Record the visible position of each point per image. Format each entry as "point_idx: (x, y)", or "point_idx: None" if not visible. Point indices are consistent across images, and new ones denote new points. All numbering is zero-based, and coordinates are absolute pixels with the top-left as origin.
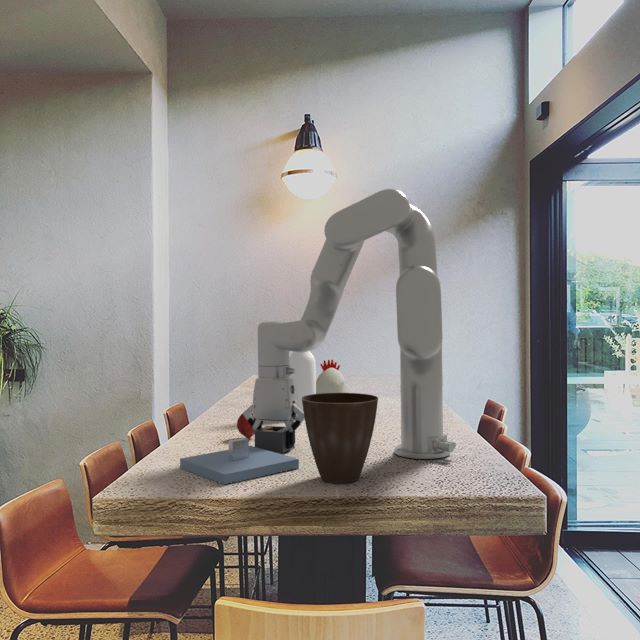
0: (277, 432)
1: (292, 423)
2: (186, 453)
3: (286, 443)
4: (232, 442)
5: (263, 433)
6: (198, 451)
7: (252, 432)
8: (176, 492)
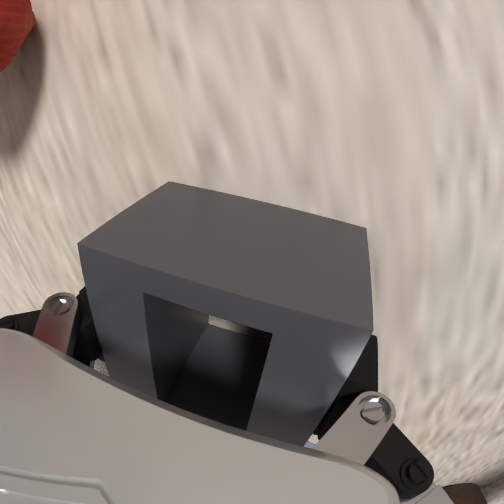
0: None
1: (352, 451)
2: (16, 304)
3: None
4: None
5: None
6: (18, 285)
7: (18, 47)
8: None
